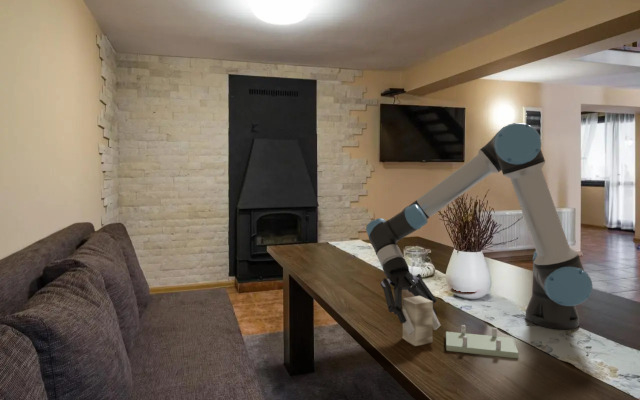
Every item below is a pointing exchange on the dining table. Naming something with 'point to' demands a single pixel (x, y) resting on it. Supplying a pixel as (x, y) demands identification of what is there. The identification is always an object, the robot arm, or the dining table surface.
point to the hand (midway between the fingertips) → (424, 330)
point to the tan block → (419, 320)
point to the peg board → (481, 344)
